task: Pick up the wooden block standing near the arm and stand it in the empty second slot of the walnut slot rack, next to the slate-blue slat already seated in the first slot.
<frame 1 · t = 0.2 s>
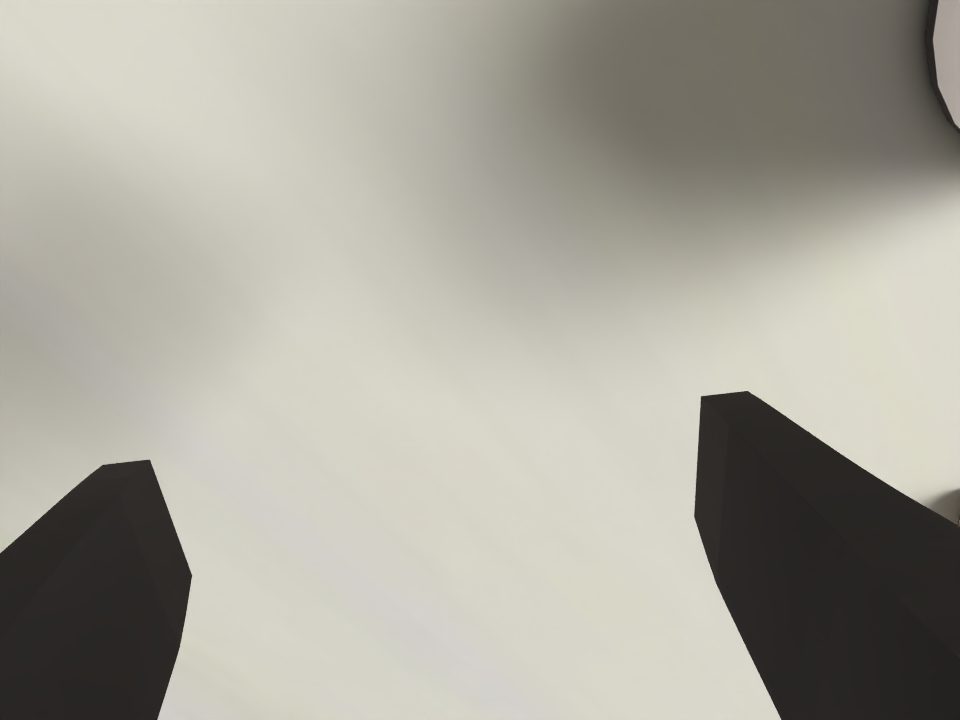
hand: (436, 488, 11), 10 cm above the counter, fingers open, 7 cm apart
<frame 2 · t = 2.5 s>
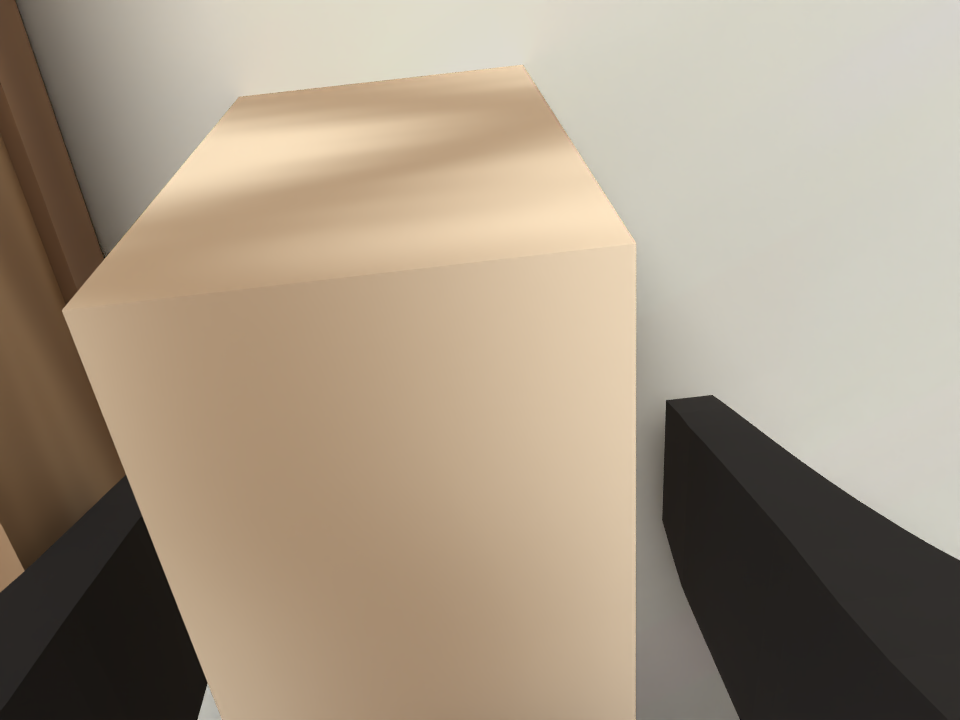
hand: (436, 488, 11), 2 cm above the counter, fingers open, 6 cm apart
wooden block: (431, 413, 13), on the counter
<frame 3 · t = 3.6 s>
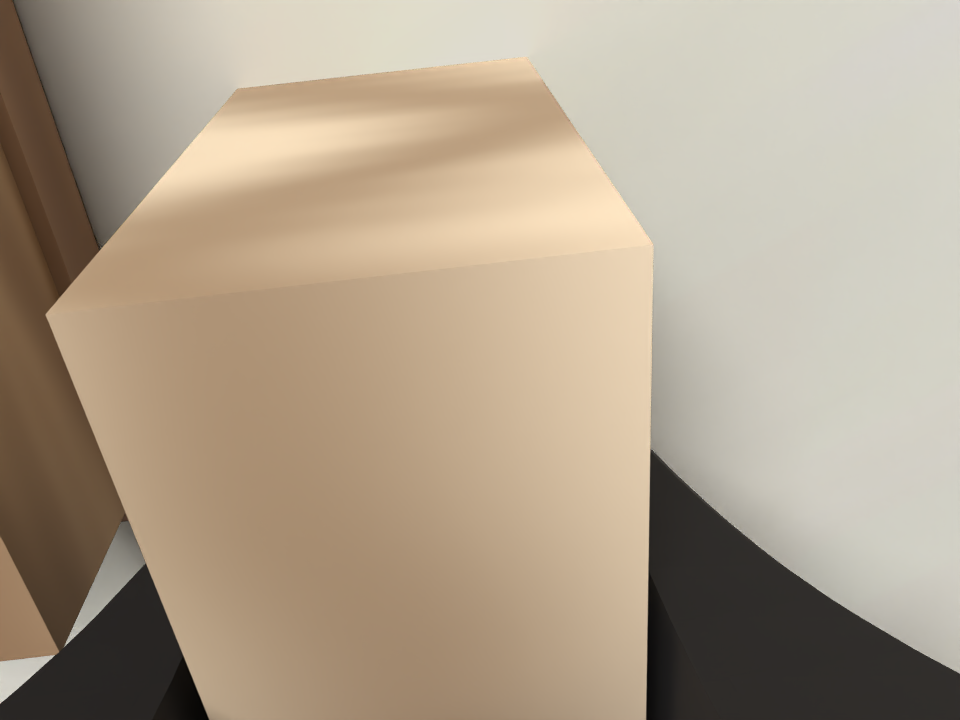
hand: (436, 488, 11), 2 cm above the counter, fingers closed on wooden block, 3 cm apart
wooden block: (432, 415, 12), on the counter, touching gripper
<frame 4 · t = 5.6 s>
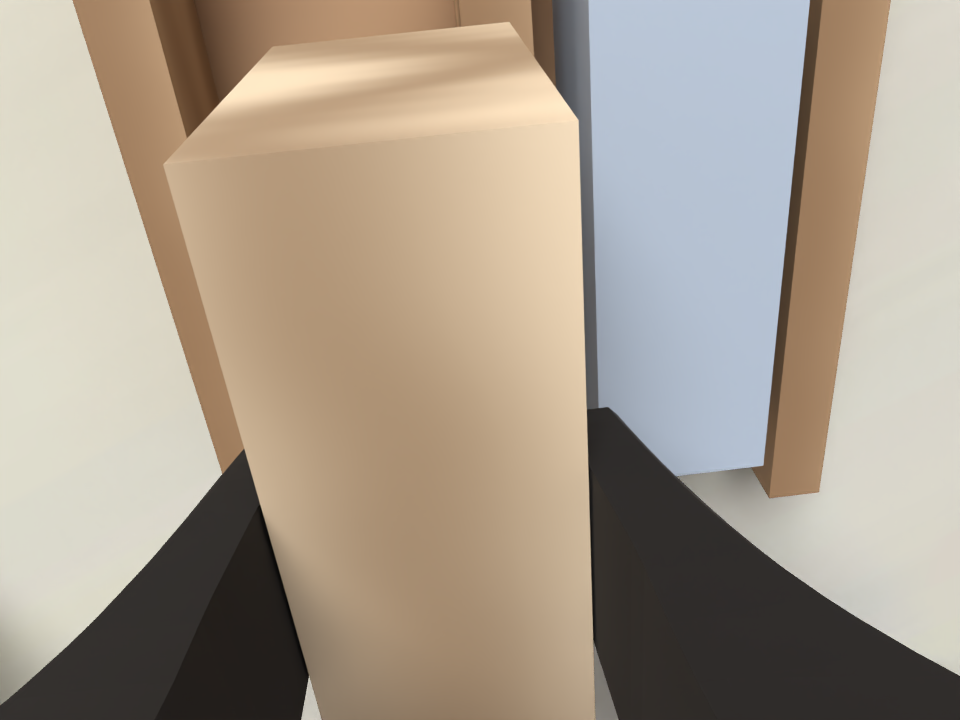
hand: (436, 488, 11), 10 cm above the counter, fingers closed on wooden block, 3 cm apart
rack: (497, 190, 19), on the counter
wooden block: (431, 332, 15), point 6 cm above the counter, touching gripper
blue slat: (638, 189, 18), point 1 cm above the counter, touching rack
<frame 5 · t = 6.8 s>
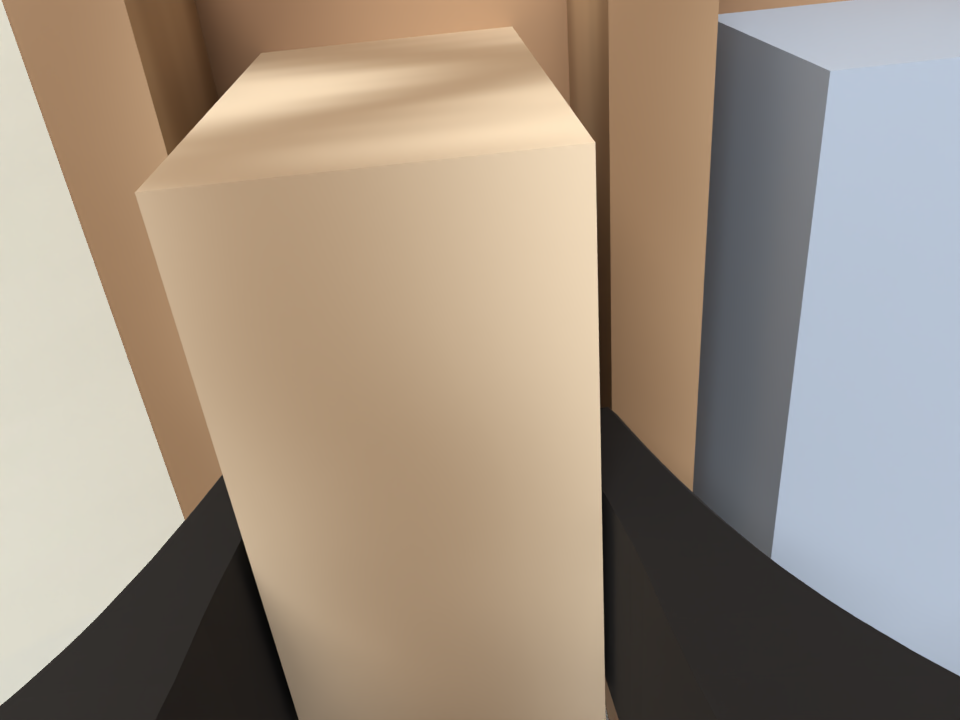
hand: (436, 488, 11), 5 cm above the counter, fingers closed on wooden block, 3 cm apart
rack: (600, 311, 15), on the counter
wooden block: (429, 351, 14), point 1 cm above the counter, touching gripper, rack
blue slat: (791, 317, 14), point 1 cm above the counter, touching rack
when the fingers open (4 cm above the counter, at t = 7.6 s): wooden block stays where it is, resting on rack.
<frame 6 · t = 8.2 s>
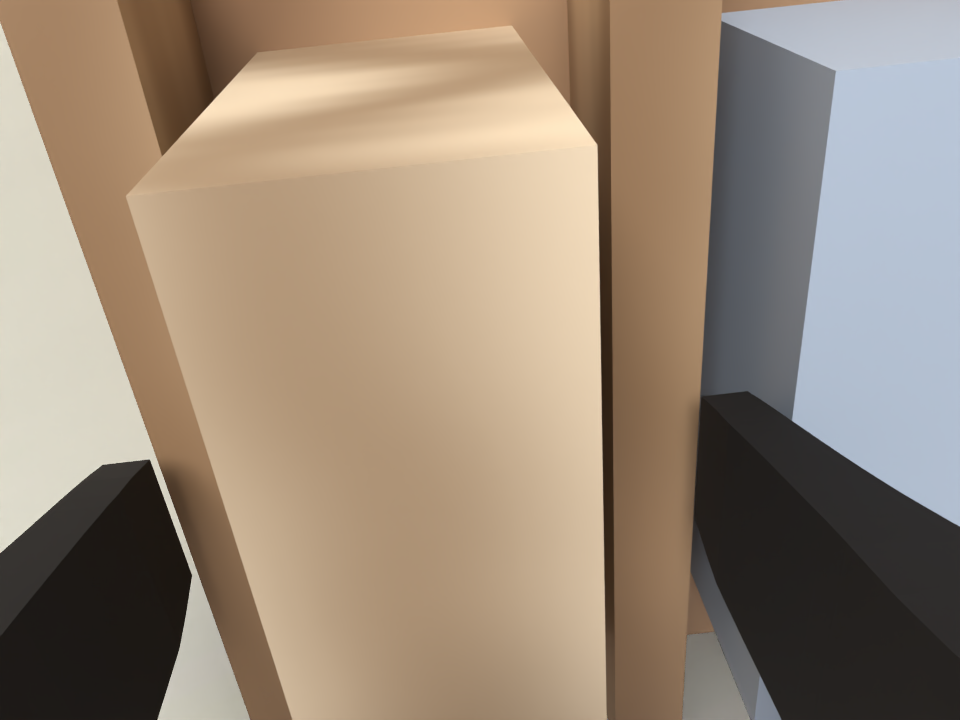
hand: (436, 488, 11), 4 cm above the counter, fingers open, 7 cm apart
rack: (601, 313, 15), on the counter
wooden block: (428, 353, 14), point 1 cm above the counter, touching rack
blue slat: (794, 319, 14), point 1 cm above the counter, touching rack
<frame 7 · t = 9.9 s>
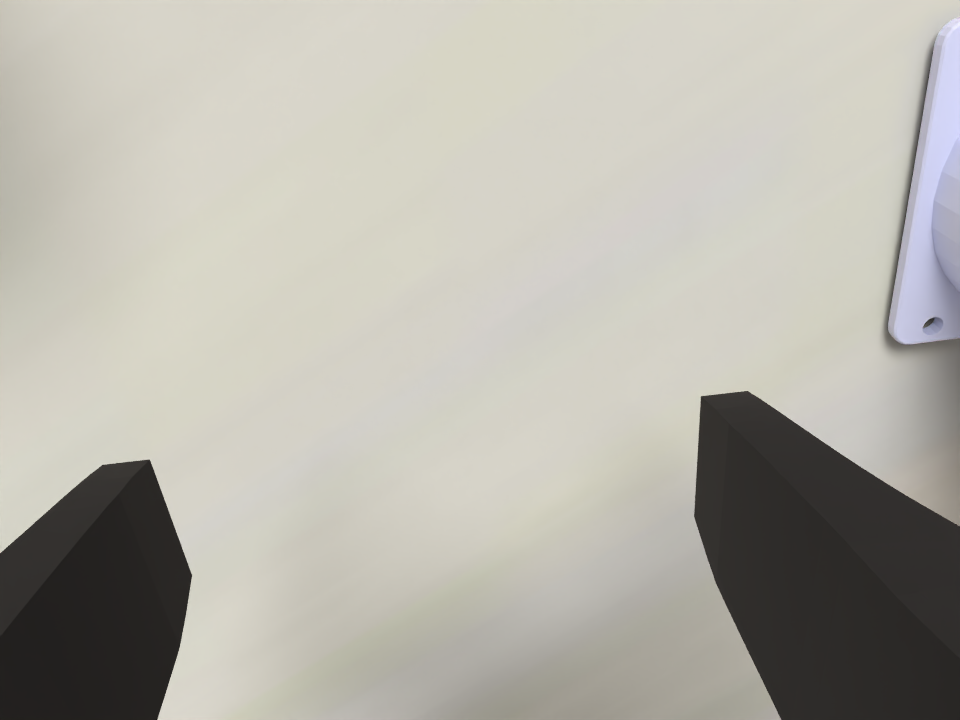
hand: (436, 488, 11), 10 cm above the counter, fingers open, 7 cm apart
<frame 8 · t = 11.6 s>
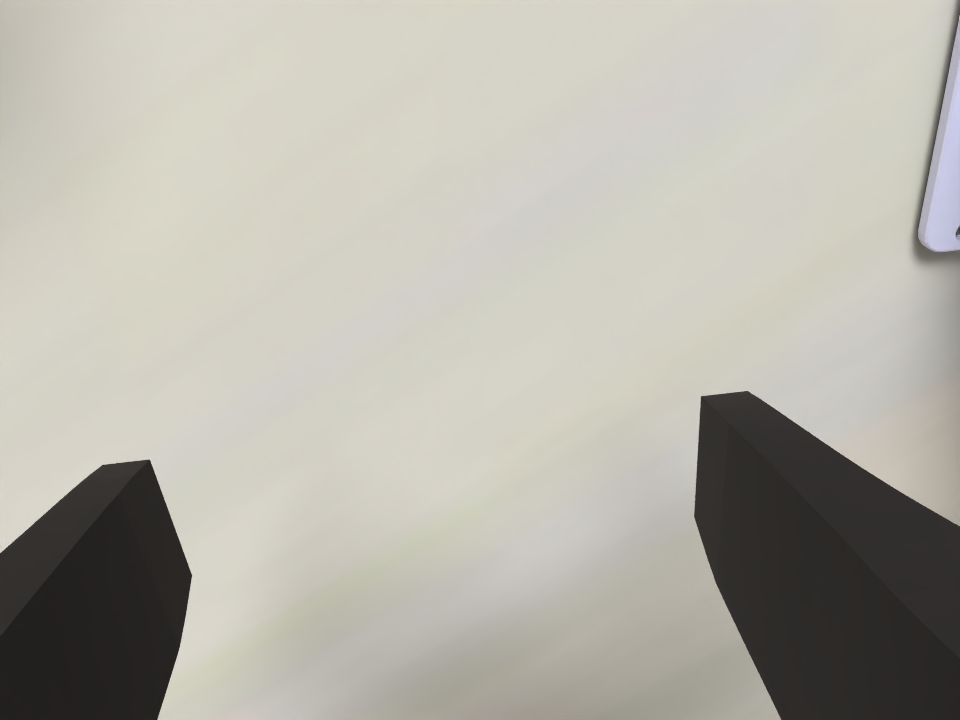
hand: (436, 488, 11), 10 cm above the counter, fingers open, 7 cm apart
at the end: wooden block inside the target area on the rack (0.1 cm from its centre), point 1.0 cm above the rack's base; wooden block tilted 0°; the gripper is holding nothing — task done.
